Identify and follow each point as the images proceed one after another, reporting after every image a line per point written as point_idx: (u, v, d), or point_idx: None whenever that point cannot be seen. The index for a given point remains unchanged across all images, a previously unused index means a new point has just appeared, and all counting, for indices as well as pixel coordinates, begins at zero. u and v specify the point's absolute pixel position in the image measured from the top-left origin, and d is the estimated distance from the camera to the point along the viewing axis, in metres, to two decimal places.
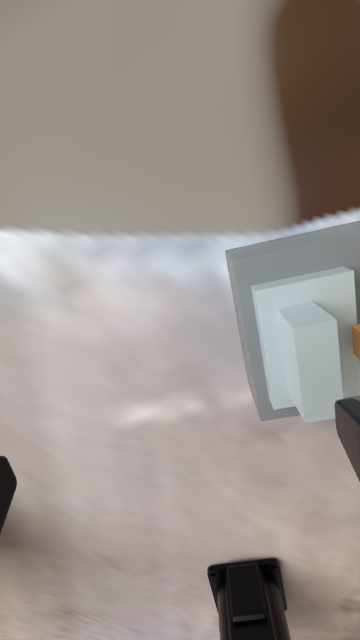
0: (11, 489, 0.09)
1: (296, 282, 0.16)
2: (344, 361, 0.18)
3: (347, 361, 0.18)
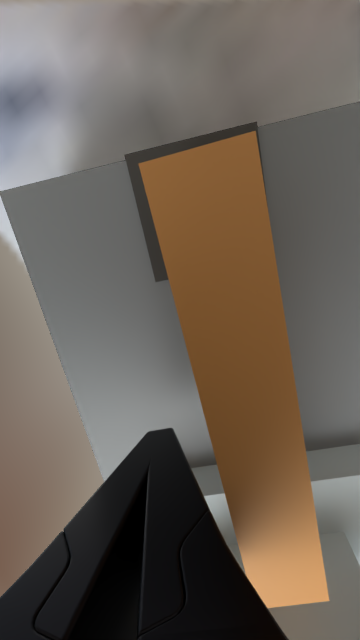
0: None
1: None
2: None
3: None
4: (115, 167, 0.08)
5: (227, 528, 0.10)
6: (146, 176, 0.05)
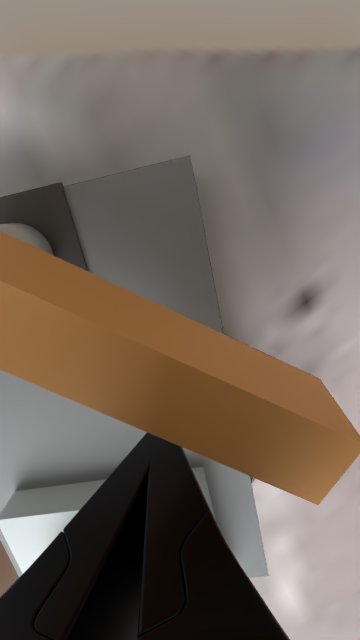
0: None
1: None
2: None
3: None
4: None
5: None
6: None
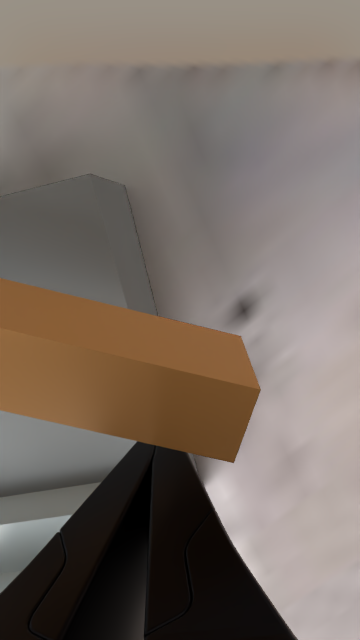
0: None
1: None
2: None
3: None
4: None
5: (5, 557, 0.11)
6: None
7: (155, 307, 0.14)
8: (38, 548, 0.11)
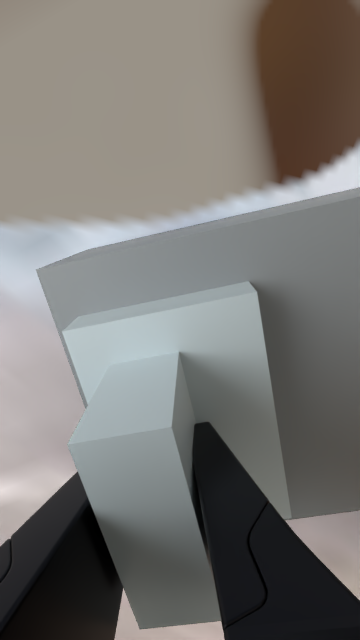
0: None
1: (142, 315, 0.08)
2: (254, 462, 0.09)
3: (260, 462, 0.09)
4: None
5: (216, 392, 0.09)
6: None
7: None
8: (233, 432, 0.09)
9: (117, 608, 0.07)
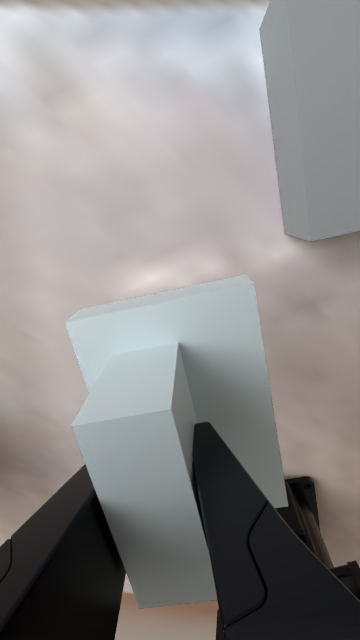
0: None
1: (142, 306, 0.08)
2: (252, 450, 0.09)
3: (257, 450, 0.09)
4: None
5: (214, 382, 0.09)
6: None
7: None
8: (231, 421, 0.09)
9: (118, 608, 0.07)
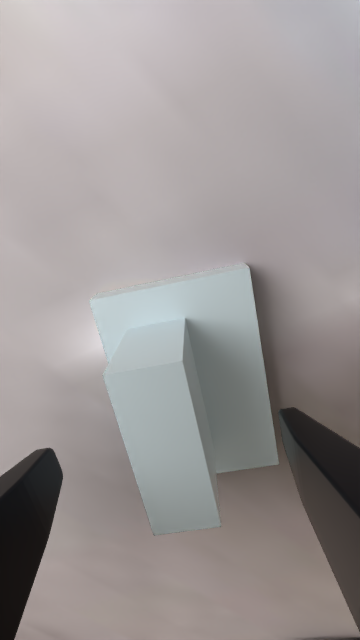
0: (58, 482, 0.09)
1: (155, 287, 0.10)
2: (247, 414, 0.11)
3: (252, 414, 0.11)
4: None
5: (216, 353, 0.10)
6: None
7: None
8: (229, 387, 0.11)
9: (18, 619, 0.07)
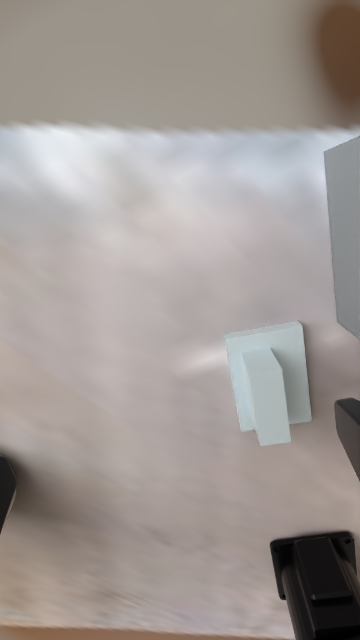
0: (11, 489, 0.09)
1: (257, 333, 0.21)
2: (297, 394, 0.22)
3: (299, 394, 0.22)
4: None
5: (283, 364, 0.21)
6: None
7: None
8: (288, 381, 0.22)
9: None
